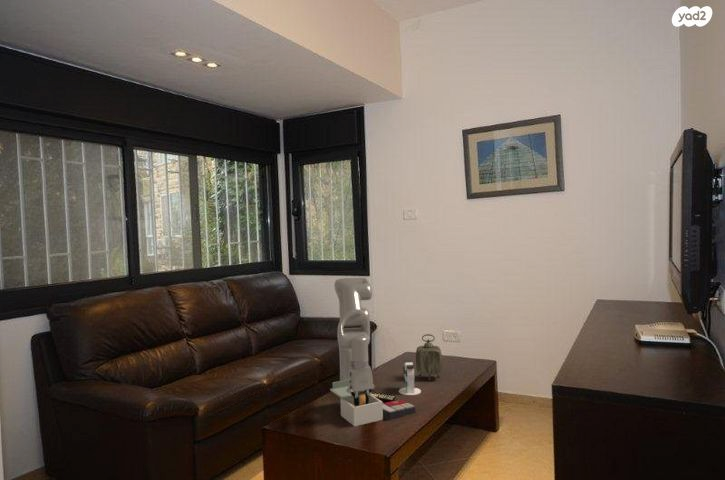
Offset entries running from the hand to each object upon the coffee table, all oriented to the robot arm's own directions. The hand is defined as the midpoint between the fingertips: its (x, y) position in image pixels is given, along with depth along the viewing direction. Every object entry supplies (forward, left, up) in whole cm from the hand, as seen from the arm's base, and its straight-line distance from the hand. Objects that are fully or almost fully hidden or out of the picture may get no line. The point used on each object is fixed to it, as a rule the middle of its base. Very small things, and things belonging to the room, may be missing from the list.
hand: (361, 404), depth 214 cm
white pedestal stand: (-18, +37, -6) cm, 42 cm away
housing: (0, 0, -6) cm, 6 cm away
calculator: (+3, +16, -7) cm, 17 cm away
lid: (-11, 0, +2) cm, 11 cm away
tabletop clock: (-29, +57, -6) cm, 64 cm away
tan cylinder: (0, 0, 0) cm, 0 cm away
